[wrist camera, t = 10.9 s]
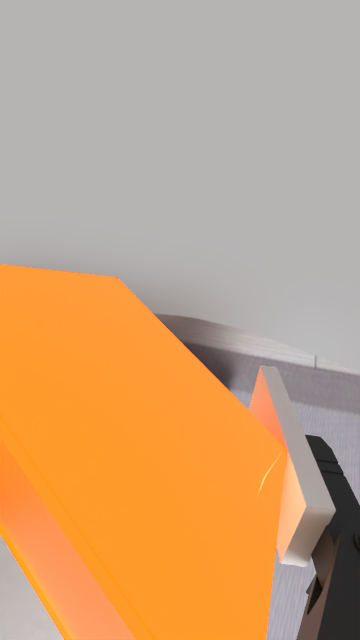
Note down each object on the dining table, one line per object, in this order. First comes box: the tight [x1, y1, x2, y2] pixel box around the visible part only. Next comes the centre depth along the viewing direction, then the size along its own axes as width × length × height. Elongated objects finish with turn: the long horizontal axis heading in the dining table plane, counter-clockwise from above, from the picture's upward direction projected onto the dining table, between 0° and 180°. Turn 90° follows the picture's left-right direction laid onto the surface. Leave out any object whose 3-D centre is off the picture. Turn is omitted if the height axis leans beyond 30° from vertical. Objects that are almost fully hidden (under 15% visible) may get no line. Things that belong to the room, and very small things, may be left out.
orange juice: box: [0, 264, 287, 640], centre depth 13 cm, size 8×9×20 cm
